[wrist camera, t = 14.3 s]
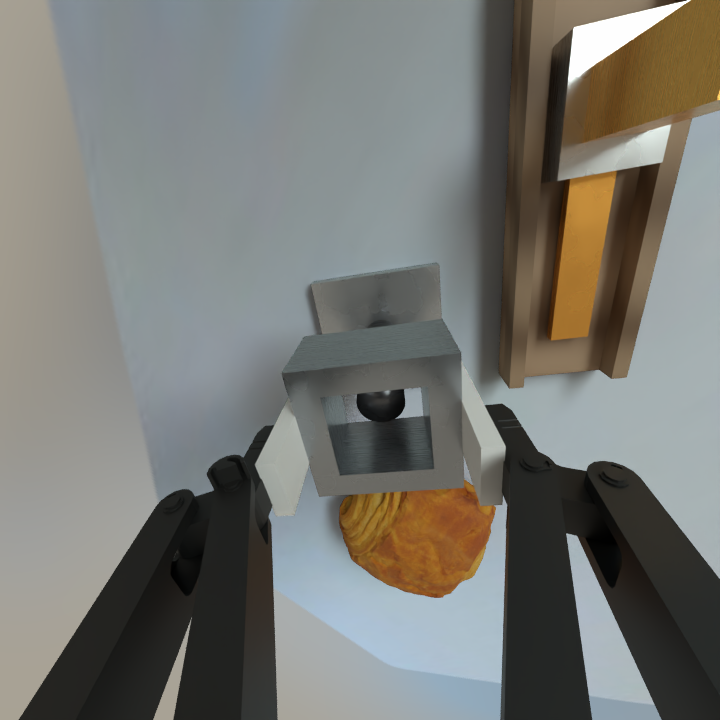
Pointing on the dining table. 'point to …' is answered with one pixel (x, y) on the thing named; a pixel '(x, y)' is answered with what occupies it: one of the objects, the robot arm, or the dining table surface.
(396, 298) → the square plate with peg
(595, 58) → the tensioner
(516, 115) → the rail
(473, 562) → the croissant
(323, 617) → the dining table surface
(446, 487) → the square hollow frame
